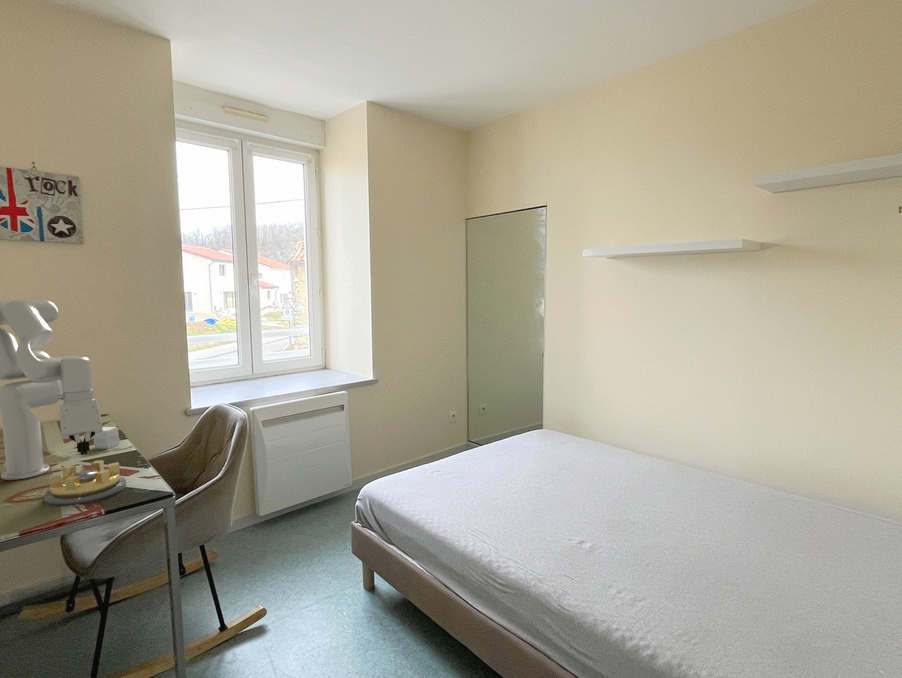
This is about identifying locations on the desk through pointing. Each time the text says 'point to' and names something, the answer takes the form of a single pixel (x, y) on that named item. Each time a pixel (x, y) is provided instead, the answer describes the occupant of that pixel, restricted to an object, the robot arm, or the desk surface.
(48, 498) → the base plate
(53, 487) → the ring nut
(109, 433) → the skincare box
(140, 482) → the desk surface
